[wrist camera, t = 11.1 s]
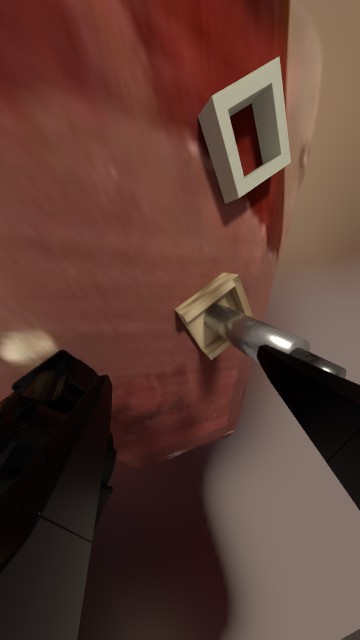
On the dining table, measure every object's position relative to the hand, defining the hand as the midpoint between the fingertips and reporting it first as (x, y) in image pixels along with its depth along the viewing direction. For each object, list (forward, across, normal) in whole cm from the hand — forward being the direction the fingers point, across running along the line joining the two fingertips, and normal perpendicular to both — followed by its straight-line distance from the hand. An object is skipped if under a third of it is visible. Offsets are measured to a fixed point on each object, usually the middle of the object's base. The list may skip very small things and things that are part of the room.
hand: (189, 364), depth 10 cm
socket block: (+17, -11, -14) cm, 25 cm away
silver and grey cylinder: (+13, -8, +5) cm, 16 cm away
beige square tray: (+14, -7, +5) cm, 17 cm away
